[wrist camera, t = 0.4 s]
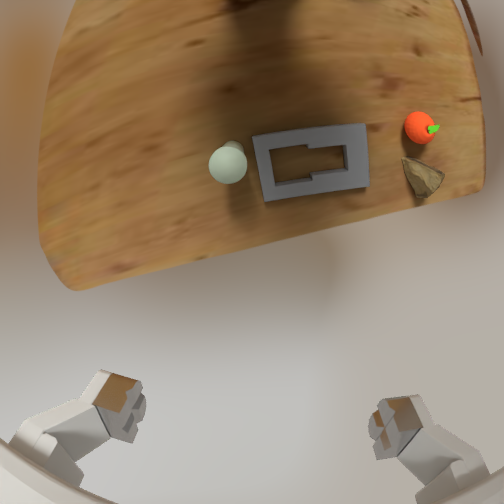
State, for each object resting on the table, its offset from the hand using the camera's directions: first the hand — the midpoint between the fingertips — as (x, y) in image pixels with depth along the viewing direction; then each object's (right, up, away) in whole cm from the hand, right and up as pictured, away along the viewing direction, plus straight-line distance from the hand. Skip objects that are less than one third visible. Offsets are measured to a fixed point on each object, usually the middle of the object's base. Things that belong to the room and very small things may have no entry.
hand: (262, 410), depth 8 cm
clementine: (+34, +32, +39) cm, 61 cm away
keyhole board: (+12, +23, +44) cm, 51 cm away
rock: (+36, +22, +46) cm, 62 cm away
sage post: (-4, +24, +43) cm, 50 cm away
